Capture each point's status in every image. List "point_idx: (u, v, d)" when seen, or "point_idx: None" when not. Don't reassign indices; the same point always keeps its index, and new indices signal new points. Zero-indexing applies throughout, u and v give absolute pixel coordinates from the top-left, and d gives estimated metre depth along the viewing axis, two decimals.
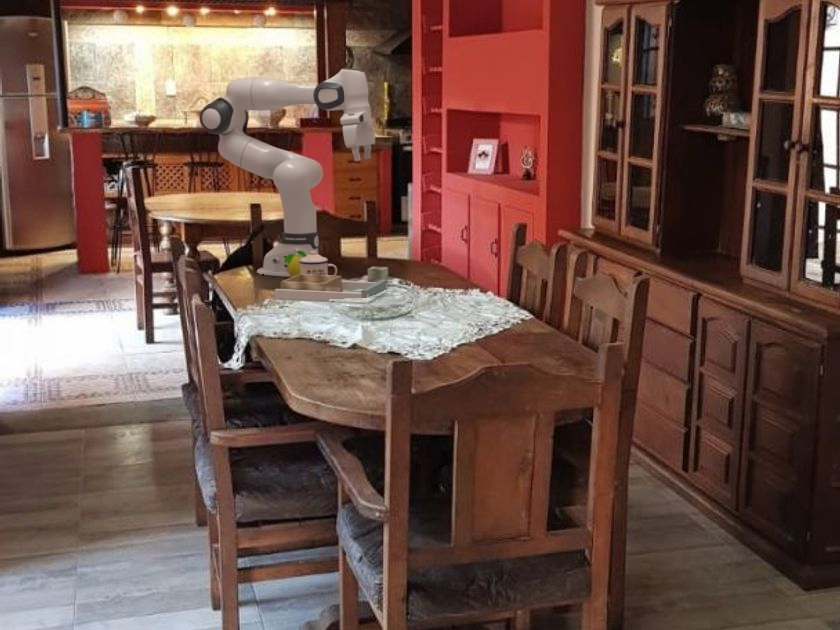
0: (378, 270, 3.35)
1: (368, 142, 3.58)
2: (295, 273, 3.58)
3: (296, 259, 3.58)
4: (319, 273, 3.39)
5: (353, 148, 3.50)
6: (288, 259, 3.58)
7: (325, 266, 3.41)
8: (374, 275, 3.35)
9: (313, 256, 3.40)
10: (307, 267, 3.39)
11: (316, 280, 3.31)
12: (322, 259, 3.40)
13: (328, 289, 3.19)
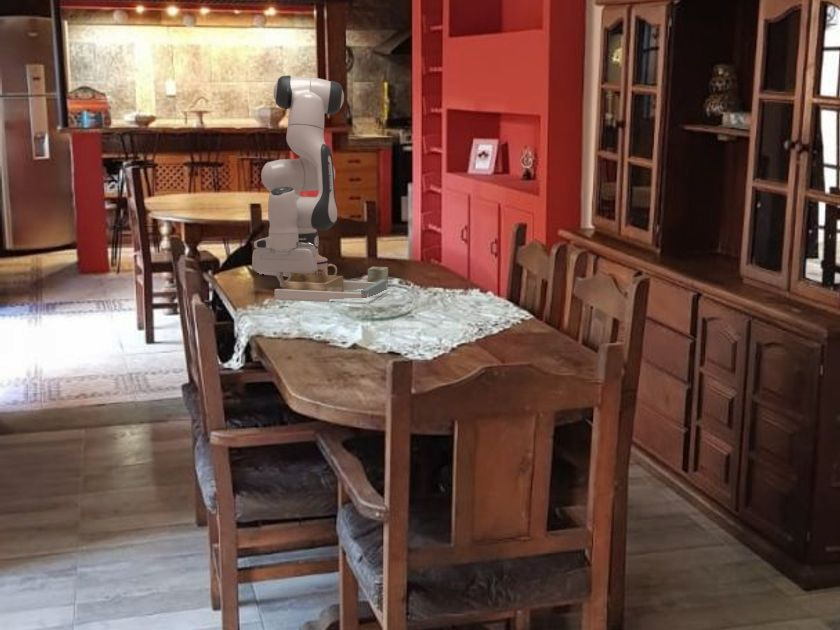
0: (378, 270, 3.35)
1: (289, 270, 3.24)
2: (294, 274, 3.58)
3: None
4: (319, 273, 3.39)
5: None
6: None
7: (325, 266, 3.41)
8: (374, 275, 3.35)
9: None
10: None
11: (318, 280, 3.31)
12: (322, 259, 3.40)
13: (330, 289, 3.19)
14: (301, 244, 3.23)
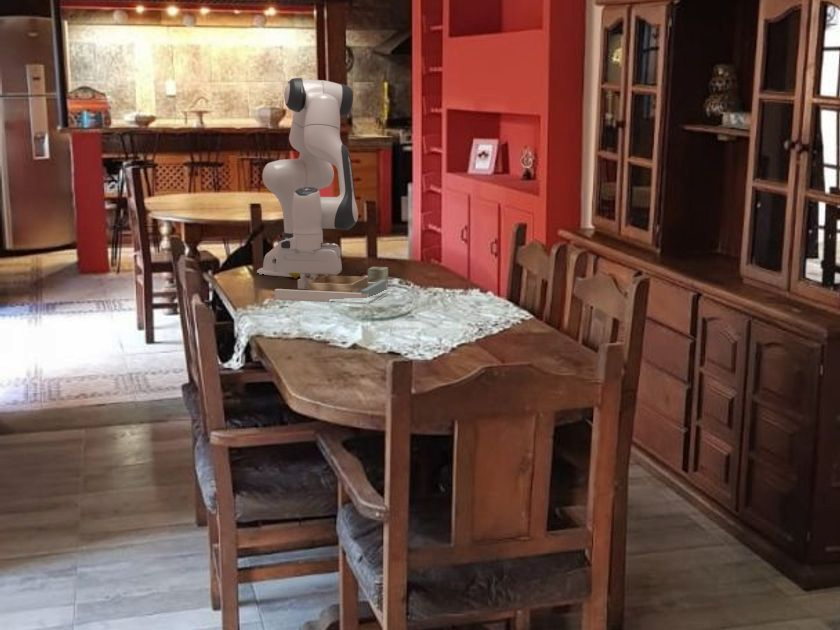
0: (378, 270, 3.35)
1: (314, 271, 3.22)
2: (295, 274, 3.58)
3: None
4: None
5: None
6: None
7: None
8: (374, 275, 3.35)
9: None
10: None
11: (342, 282, 3.29)
12: None
13: (355, 290, 3.17)
14: (326, 245, 3.20)
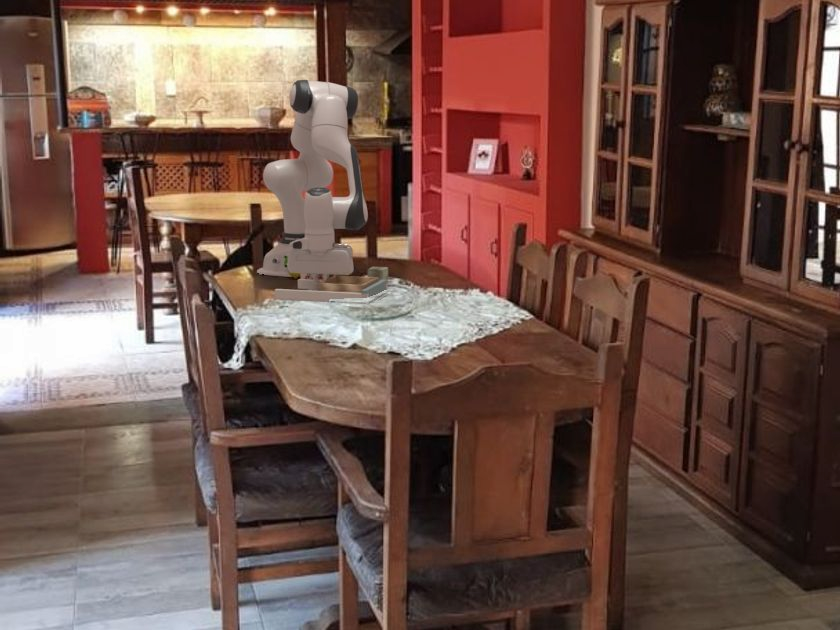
0: (378, 270, 3.35)
1: (326, 271, 3.21)
2: (295, 275, 3.58)
3: None
4: None
5: None
6: None
7: None
8: (374, 275, 3.35)
9: None
10: None
11: (353, 282, 3.28)
12: None
13: None
14: (337, 245, 3.19)
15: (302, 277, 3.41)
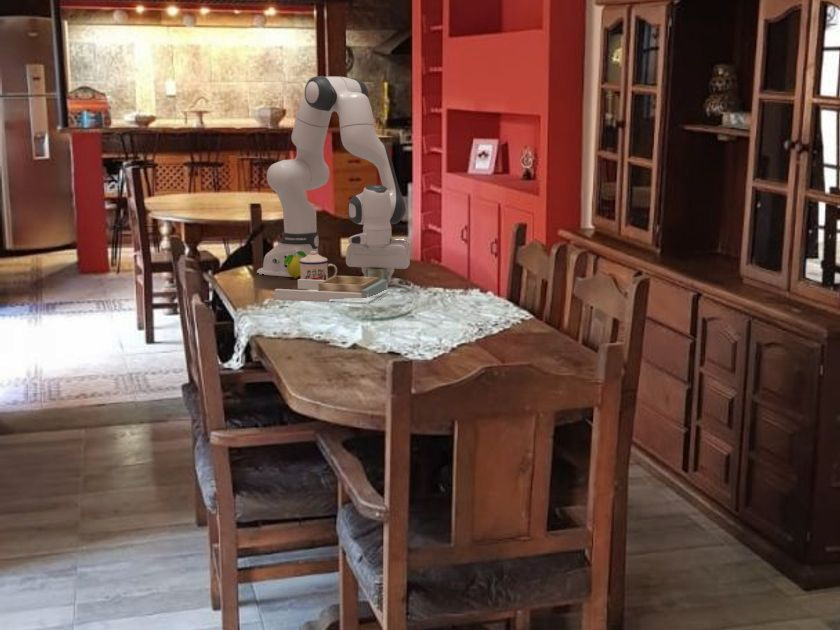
0: (378, 270, 3.35)
1: (383, 265, 3.35)
2: (294, 275, 3.58)
3: (296, 260, 3.57)
4: (319, 273, 3.39)
5: None
6: (288, 260, 3.57)
7: (325, 266, 3.41)
8: (374, 275, 3.35)
9: (313, 256, 3.40)
10: (307, 267, 3.39)
11: (353, 282, 3.28)
12: (322, 259, 3.40)
13: None
14: (395, 240, 3.33)
15: (302, 277, 3.41)
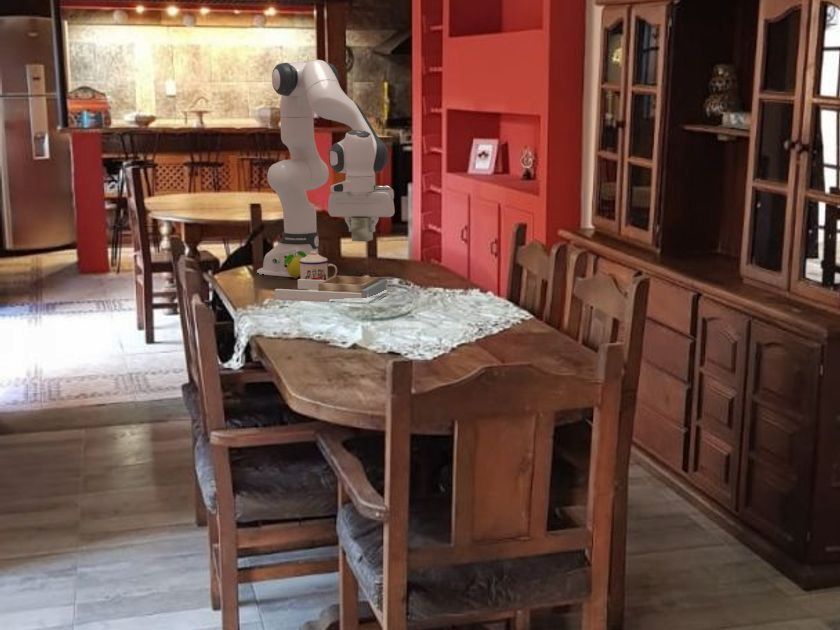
0: (362, 219, 3.22)
1: (367, 214, 3.22)
2: (294, 274, 3.58)
3: (296, 260, 3.57)
4: (319, 273, 3.39)
5: None
6: (288, 260, 3.57)
7: (325, 266, 3.41)
8: (358, 224, 3.23)
9: (313, 256, 3.40)
10: (307, 267, 3.39)
11: (353, 282, 3.28)
12: (322, 259, 3.40)
13: None
14: (379, 187, 3.21)
15: (302, 277, 3.41)
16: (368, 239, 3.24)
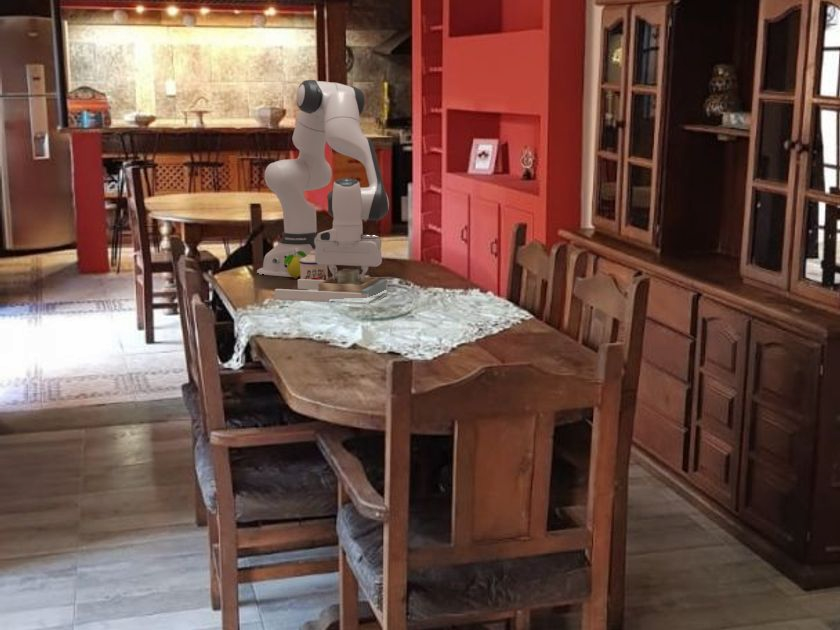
0: (348, 272, 3.18)
1: (354, 263, 3.18)
2: (294, 275, 3.58)
3: (296, 260, 3.57)
4: (319, 273, 3.39)
5: None
6: (288, 260, 3.57)
7: (325, 266, 3.41)
8: (344, 278, 3.19)
9: (313, 256, 3.40)
10: (307, 267, 3.39)
11: None
12: None
13: None
14: (366, 236, 3.16)
15: (302, 277, 3.41)
16: None
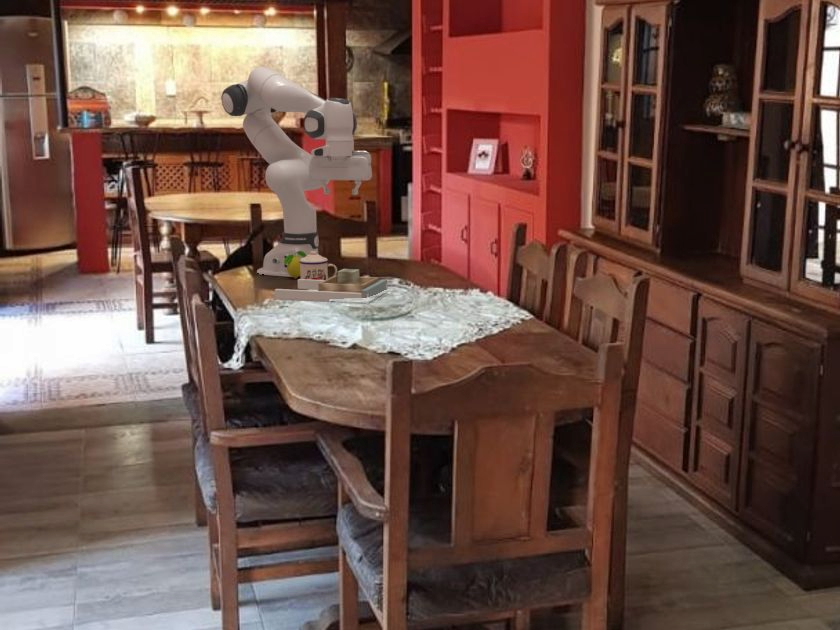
0: (348, 272, 3.18)
1: (345, 177, 3.39)
2: (294, 275, 3.58)
3: (296, 260, 3.57)
4: (319, 273, 3.39)
5: None
6: (288, 260, 3.57)
7: (325, 266, 3.41)
8: (344, 278, 3.19)
9: (313, 256, 3.40)
10: (307, 267, 3.39)
11: None
12: (322, 259, 3.40)
13: None
14: (357, 152, 3.37)
15: (302, 277, 3.41)
16: None
